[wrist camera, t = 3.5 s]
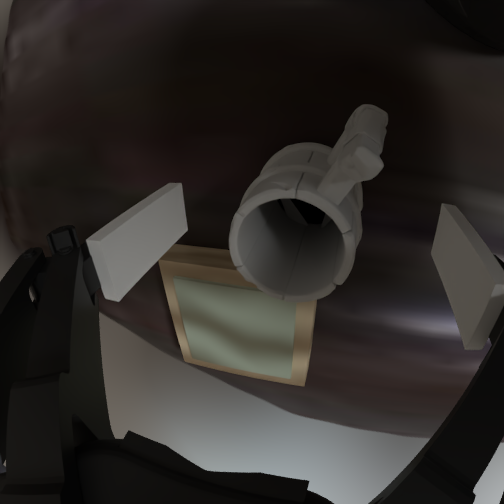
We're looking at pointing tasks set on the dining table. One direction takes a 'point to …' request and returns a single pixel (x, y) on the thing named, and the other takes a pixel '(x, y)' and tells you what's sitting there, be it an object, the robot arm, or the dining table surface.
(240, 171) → the dining table surface
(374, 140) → the mug
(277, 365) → the stand
